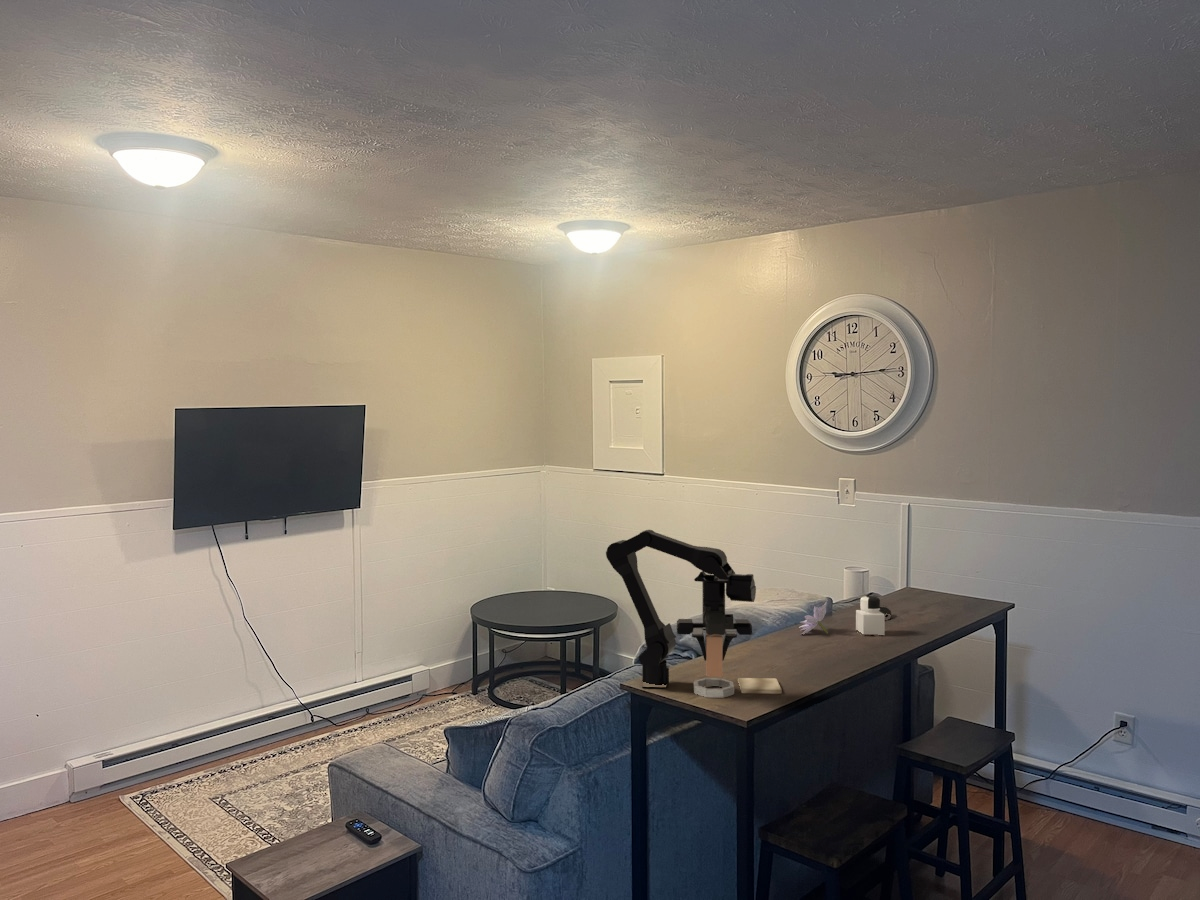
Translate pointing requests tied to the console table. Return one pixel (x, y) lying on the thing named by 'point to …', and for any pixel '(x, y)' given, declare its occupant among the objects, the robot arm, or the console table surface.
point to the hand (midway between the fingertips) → (713, 660)
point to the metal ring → (713, 692)
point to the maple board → (759, 685)
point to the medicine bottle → (870, 616)
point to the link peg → (714, 655)
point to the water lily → (814, 619)
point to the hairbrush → (885, 610)
